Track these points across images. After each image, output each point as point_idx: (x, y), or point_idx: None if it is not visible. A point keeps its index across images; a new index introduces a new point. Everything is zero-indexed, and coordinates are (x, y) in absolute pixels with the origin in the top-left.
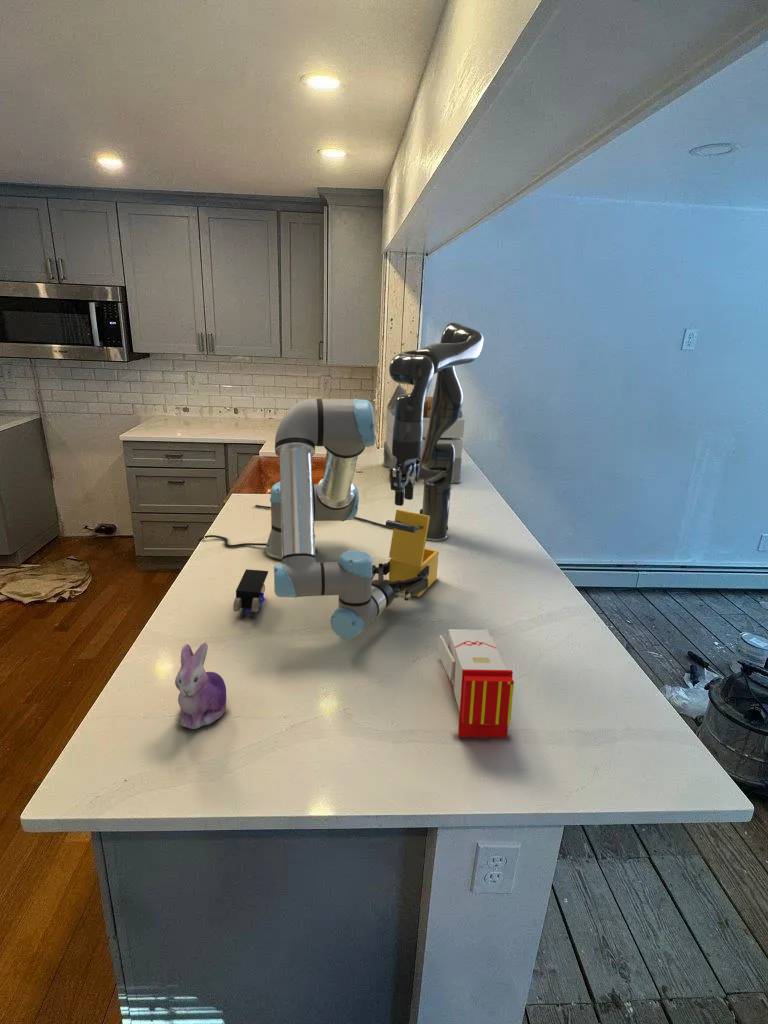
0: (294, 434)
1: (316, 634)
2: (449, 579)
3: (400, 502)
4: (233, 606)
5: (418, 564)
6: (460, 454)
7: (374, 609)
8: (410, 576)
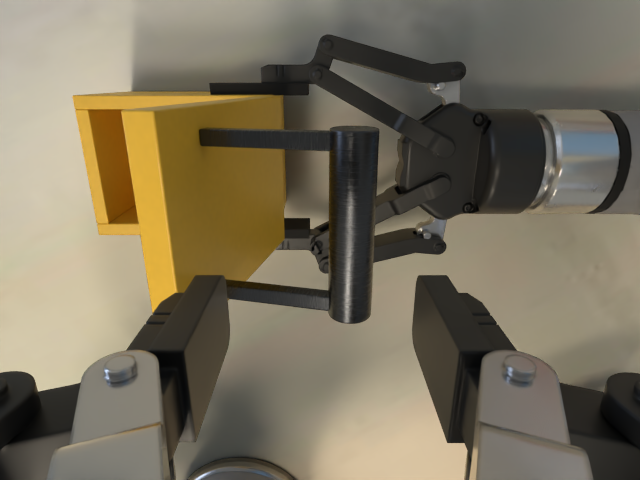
0: None
1: (604, 245)
2: (98, 48)
3: (467, 301)
4: None
5: (280, 106)
6: None
7: (637, 113)
8: None
